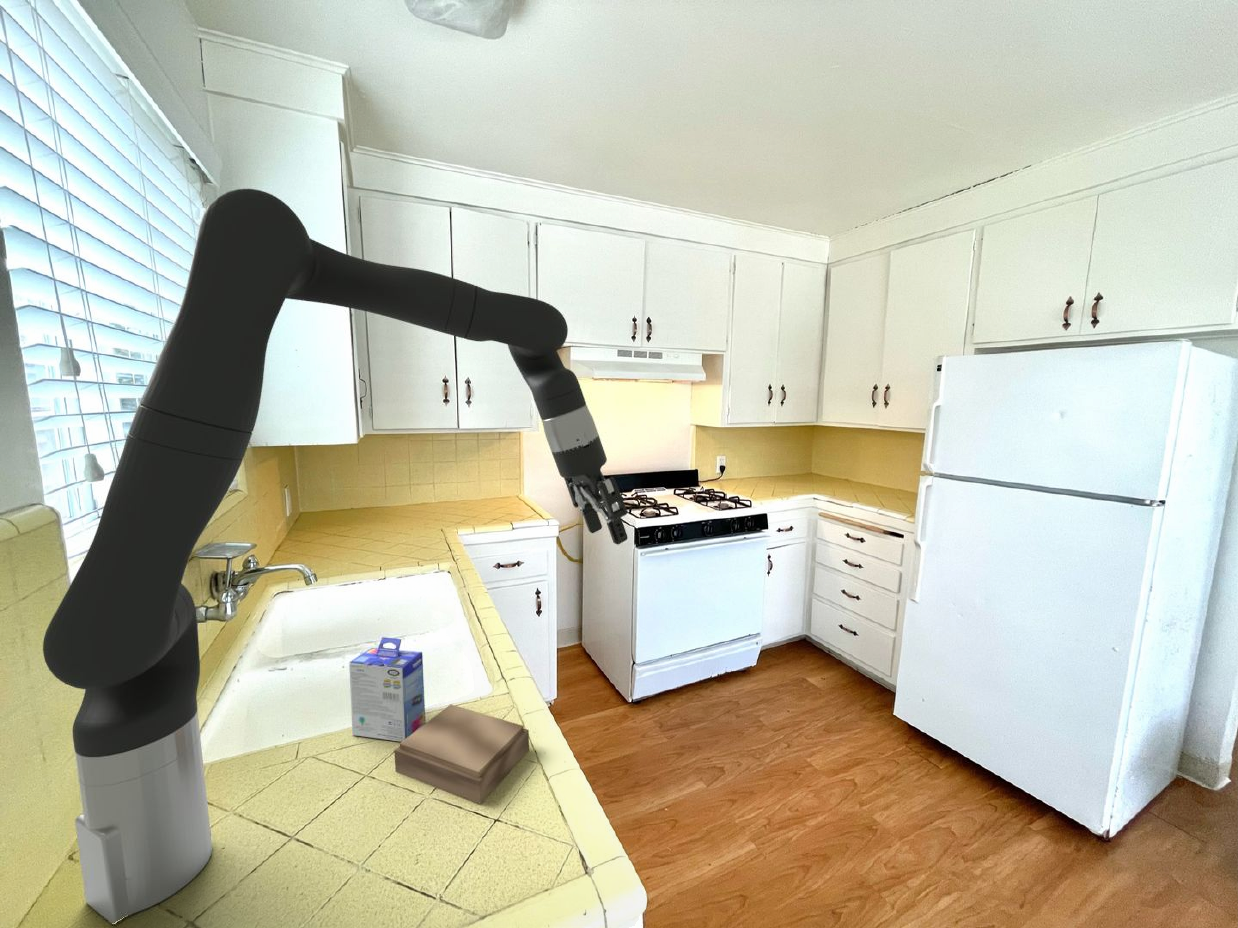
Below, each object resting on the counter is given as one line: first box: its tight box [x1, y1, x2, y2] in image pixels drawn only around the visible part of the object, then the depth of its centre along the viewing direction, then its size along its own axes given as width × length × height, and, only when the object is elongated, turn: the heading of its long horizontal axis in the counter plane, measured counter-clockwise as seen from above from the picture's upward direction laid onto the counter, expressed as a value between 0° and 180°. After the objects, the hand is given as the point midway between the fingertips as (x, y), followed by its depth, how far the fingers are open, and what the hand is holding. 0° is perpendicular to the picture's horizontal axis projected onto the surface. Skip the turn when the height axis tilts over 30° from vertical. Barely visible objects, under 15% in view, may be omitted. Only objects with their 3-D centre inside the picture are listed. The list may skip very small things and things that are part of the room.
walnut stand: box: [393, 704, 530, 805], centre depth 69 cm, size 11×15×4 cm
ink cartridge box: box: [348, 636, 427, 743], centre depth 76 cm, size 10×6×14 cm, turn 78°
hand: (608, 536), depth 75 cm, fingers open, 8 cm apart
